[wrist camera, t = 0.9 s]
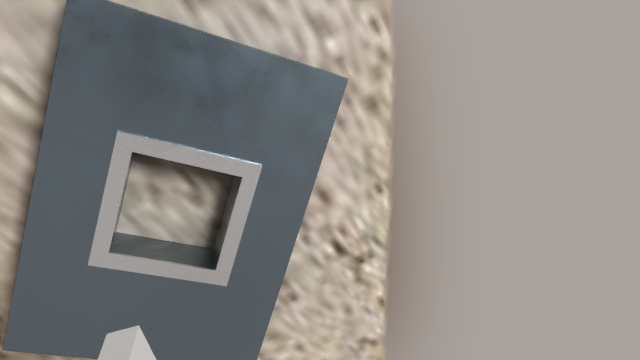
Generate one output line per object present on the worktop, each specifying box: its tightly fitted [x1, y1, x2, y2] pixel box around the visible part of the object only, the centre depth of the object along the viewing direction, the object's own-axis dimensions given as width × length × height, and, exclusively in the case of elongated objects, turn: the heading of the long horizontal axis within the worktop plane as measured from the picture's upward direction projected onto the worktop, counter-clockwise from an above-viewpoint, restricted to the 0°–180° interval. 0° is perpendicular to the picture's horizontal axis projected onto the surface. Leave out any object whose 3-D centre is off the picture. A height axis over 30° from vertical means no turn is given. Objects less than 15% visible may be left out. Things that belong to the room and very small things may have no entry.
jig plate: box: [3, 0, 348, 360], centre depth 31 cm, size 22×16×3 cm
